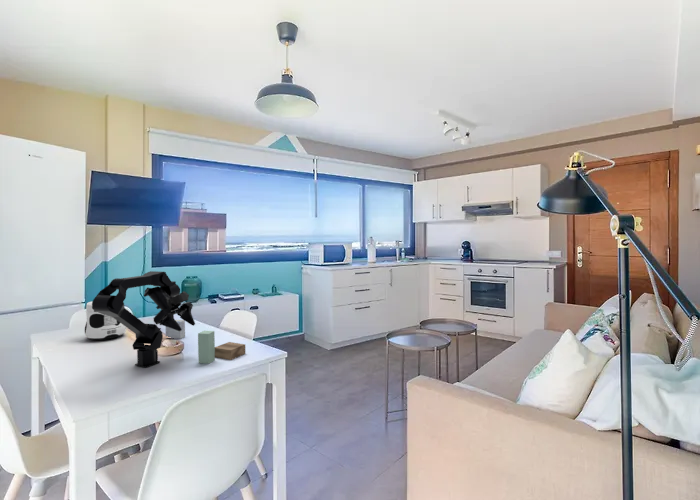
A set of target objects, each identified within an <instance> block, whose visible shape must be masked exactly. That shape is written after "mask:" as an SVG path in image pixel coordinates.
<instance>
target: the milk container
mask: <svg viewBox="0 0 700 500" xmlns="http://www.w3.org/2000/svg"><path fill="white" fill-rule="evenodd" d="M92 302H93V300H92V301H88V302H87V303H86V306H85V309H86V311H85V314H86V315H85V316H86V321H85V325H84V335H85V338H86V339H88V340H93V341H105V340H111V339H115V338H118V337H120V336H123V335H124V334H125V333H126V330H127V327H126V326H124V325H123V324H121V323H120V322H119V321H117V320H116V319H114V318H113V317H111V316H108V315H104V314H101V313H99V312H96V311H94V310H93V309H92Z"/></svg>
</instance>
